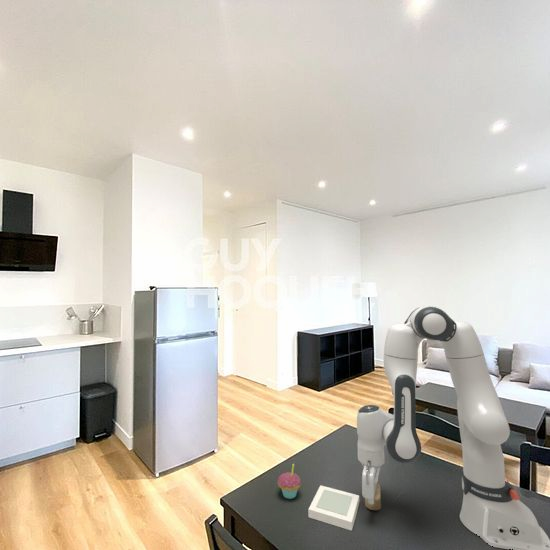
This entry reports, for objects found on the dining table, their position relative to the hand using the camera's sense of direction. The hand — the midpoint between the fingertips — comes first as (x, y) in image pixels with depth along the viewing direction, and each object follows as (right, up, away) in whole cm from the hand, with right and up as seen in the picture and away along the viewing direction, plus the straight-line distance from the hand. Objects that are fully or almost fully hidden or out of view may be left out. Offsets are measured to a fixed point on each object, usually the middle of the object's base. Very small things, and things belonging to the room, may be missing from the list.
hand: (372, 496), depth 104 cm
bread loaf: (0, -3, 0) cm, 3 cm away
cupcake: (-28, -4, +6) cm, 29 cm away
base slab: (-13, -3, -2) cm, 14 cm away
